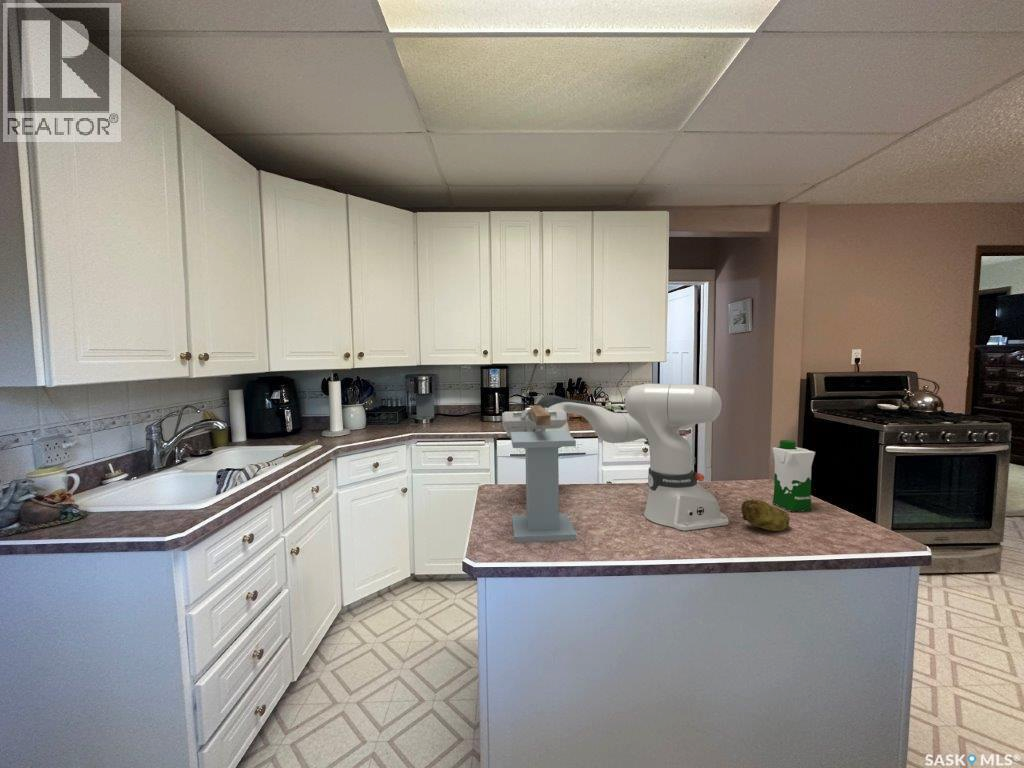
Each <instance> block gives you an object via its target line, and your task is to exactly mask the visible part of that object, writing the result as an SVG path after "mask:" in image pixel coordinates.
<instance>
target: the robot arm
mask: <svg viewBox="0 0 1024 768" xmlns="http://www.w3.org/2000/svg"><path fill="white" fill-rule="evenodd" d="M722 403H723V402H722V399H721V396H720V394H719V393H718V391H717V390H716V389H715V388H714V387H710V386H706V385H701V384H692V383H691V384H690V383H689V384H687V383H685V384H684V383H641V384H636V385H632V386H631V387H630V388H629V389H628V390H627V392H626V393H625V396H624V408H625V410H626V412H614V411H611V410H608V409H606V408H604V406H602V405H601V404H598V403H595V402H590V401H583V400H576V399H570V398H564V397H561V396H558V395H553V394H548V395H547V394H546V395H544V396H542V397H540V399H539V400H538V401H537V403H536V404H535V406H537V405H540V406H541V407H542V408H543V409H544V410H545V411H546V412H547V413H548V414H549V415H550V421H551V425H540V426H537V425H536V423H535V422H534V420H533V419H532V417H531V416H530V414H531V411H530V408H529V407H525V409H524V410H522V411H504V412H502V413H501V417H502V419H501V420H502V423H501V424H502V428H503V429H504V431H505V433H506V436H507V437H510V432H534V431H567V432H568V433H569V434H570V435H571V432H570V426H569V423H568V414H571V415H579V416H581V417H583V418H584V419H585V420H586V421H587V422H588V423H589V424H590V426H591V427H592V429H593V430H594V432H595V434H596V435H597V437H599V439H600V440H602V441H604V442H606V443H609V444H621V443H622V444H624V443H629V442H634V441H638V440H641V439H644V440H645V441H643V443H644V445H647V446H648V447H649V467H648V474H647V483H648V488H649V489H648V496H647V501H646V505H645V508H644V513H643V515H644V517H645V518H646V519H647V520H649V521H651V522H652V523H654V524H657V525H661V526H665V527H672V528H674V529H676V530H680V531H684V532H685V531H691V530H692V531H693V530H699V529H707V528H714V527H715V528H716V527H720V526H728V525H729V523H730V522H729V521H730V520H729V518H728V516H727V515H726V514H724V513H723V512H722V511H720V506H719V502H718V500H717V498H716V497H715V496H714V495H713V494H712V493H711V492H709V491H708V490H706V489H705V488H704V487H703V486H702V485H700V484H699V483H698V482H701V483H702V482H703V481H704V480H705V476H704V474H702V473H700V472H696V471H694V470H692V446H691V443H690V442H689V441H688V440H687V439H686V438H685V437H684V436H682V435H680V431H685V430H690V429H691V428H693V427H694V426H695V425H697V424H707V423H712V422H714V421H715V420H716V419H717V418H718V417H719V416H720V413H721V411H722ZM560 448H561V447H558V449H560ZM523 449H524V450H525V448H523Z"/></svg>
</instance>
